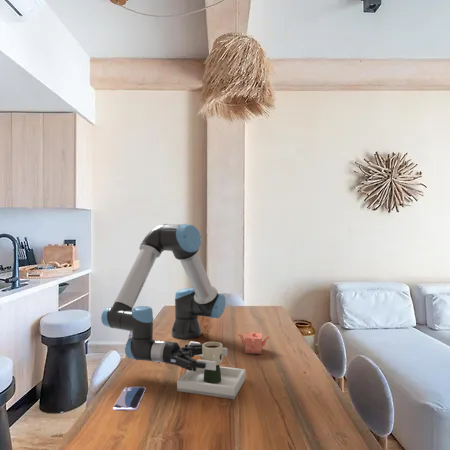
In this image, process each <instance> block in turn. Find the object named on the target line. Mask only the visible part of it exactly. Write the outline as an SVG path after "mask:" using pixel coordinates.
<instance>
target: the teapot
mask: <svg viewBox="0 0 450 450" xmlns="http://www.w3.org/2000/svg"><path fill="white" fill-rule="evenodd" d="M236 334H237V333H236ZM237 336H238V337H239V338H240V340H241V343H242V345H243V346H244V354H254V355H256V354H257V355H262V354H263V353H262V352H263V351H262V350H263V347H265V345H266V344H267V340H268V339H269V338H271V335H266V336H265V338H264V339H263V333H261V332H253V331H252V332H246V334H245V338H244V336H243V335H242V334H239V333H238V334H237Z"/></svg>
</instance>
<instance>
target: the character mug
mask: <svg viewBox="0 0 450 450" xmlns="http://www.w3.org/2000/svg"><path fill="white" fill-rule="evenodd" d="M202 344H203V345H202V357H201V358H202V359H201V360H207V361H215V362H216V370H207V369H205V370H204V382H207V383H219V382H220V381H221V372H220V366H221V364H222V363H223V358H224V356H223V355H222V348H223V343H221V342H219V341H206V342H203V343H202Z"/></svg>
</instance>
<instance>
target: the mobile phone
mask: <svg viewBox="0 0 450 450" xmlns="http://www.w3.org/2000/svg"><path fill="white" fill-rule="evenodd" d="M145 390H147V388H146V387H145V386H125V387H124V388H123V389H122V391H121V393H120V395H119V396H118V399H117V400H116V401H115V403H114V405H113V407H112V410H113V411H136V410H137V409H139V407H140V403H141V402H142V399H143V398H144V395H145V393H144V392H146V391H145ZM140 401H141V402H140Z"/></svg>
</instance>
